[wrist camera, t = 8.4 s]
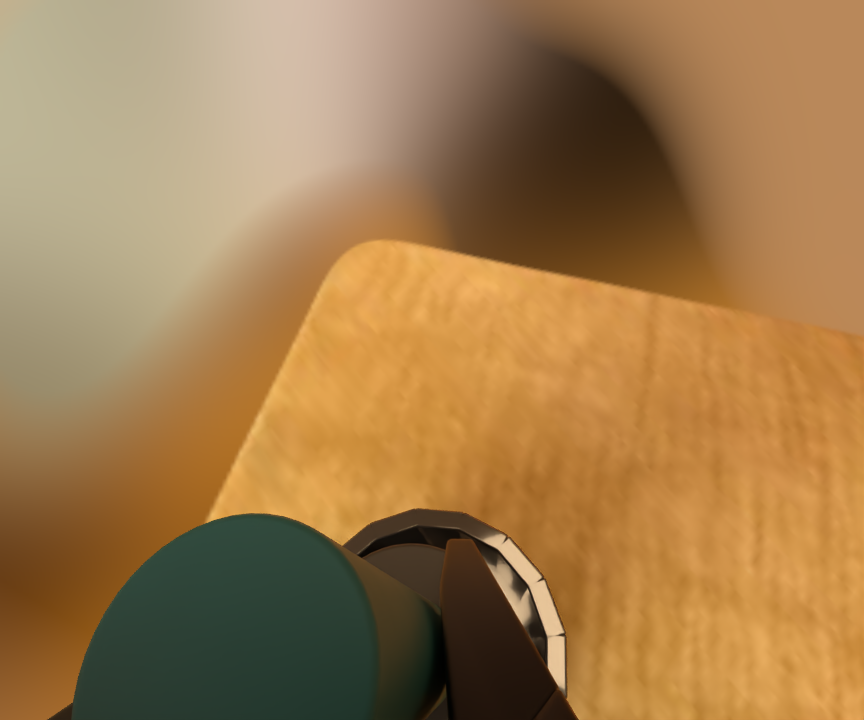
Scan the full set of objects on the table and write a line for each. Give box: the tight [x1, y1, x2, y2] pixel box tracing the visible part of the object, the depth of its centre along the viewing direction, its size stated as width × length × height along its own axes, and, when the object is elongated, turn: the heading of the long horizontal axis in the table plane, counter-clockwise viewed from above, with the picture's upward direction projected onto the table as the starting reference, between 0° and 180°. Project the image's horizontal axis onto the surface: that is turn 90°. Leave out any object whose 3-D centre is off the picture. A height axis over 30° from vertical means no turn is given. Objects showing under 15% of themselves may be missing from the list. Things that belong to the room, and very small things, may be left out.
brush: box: [71, 513, 448, 720], centre depth 8 cm, size 4×4×12 cm
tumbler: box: [343, 508, 567, 699], centre depth 15 cm, size 7×7×5 cm
